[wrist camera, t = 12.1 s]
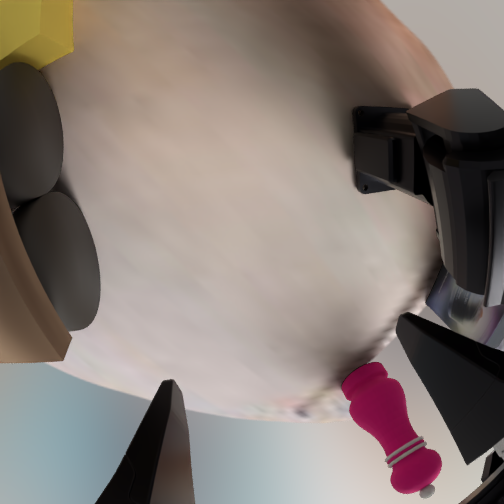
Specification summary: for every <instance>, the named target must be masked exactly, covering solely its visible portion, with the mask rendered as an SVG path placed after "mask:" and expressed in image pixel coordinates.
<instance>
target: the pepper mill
mask: <svg viewBox="0 0 504 504" xmlns="http://www.w3.org/2000/svg"><path fill="white" fill-rule="evenodd" d="M387 376H388V373H387V371H386V370H385V368H384V367H383V365H382V364H381V363H379V362H372V363H368V364H365V365H363V366H361V367H359V368H358V369H356V370H355V371H353V372H352V373H351V374H350V375H349V376H348V377H347V378H346V379H345V380H344V382H343V384H342V391H343V393H344V395H345V397H346V399H347V400H349V401H351V404H350V409H349V411H350V415H351V417H352V418H353V420H354V421H355V422H356V423H357V424H358V425H359V426H360V427H361V428H363V429H364V430H366V431H367V432H369V433H370V434H371V435H373V436H374V437H375V438H376V439H377V440H378V441H379V443H380V444H381V446H382V447H383V449H384V451H385V453H386V456H387V458H386V459H385V462H387V464H389V465H388V468H392V467H393V472H392V475H391V484H392V486H393V488H394V489H395V490H397V491H398V492H400V493H403V494H410V493H414V492H417V491H419V490H420V496H421V498H429V497H431V496H432V494H434V492H435V487H434V486H433V485H429V484H431V483H432V482H433V481H434V480H435V479H436V478H437V476H438V475H439V473H440V471H441V467H442V461H441V457H440V456H439V454H438V453H437V452H436V451H435V450H431V449H427V448H425V446H426V445H427V443H426V442H424V440H423V437H422V436H421V437H418V435H417V434H416V433H415V431H414V430H413V428H412V426H411V424H410V422H409V418H408V414H407V407H406V399H405V394H404V391H403V389H402V387H401V385H400V383H399V382H398V381H397V380H395V379H391V378H387Z"/></svg>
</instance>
